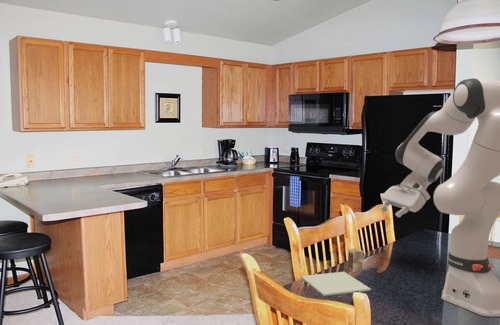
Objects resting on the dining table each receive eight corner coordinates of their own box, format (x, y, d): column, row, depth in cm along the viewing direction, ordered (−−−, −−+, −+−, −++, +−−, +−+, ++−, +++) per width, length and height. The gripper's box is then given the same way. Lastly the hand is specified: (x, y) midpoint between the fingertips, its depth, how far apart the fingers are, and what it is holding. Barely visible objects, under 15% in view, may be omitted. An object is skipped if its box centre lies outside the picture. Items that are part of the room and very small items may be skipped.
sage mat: (370, 290, 150) (370, 288, 150) (323, 296, 144) (323, 294, 144) (343, 273, 167) (344, 271, 167) (300, 277, 161) (300, 276, 161)
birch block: (356, 268, 173) (357, 248, 172) (362, 271, 169) (363, 251, 169) (347, 269, 172) (347, 249, 171) (352, 272, 168) (353, 252, 167)
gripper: (391, 179, 184) (370, 202, 182) (424, 187, 165) (401, 213, 163) (399, 189, 186) (378, 212, 184) (433, 198, 167) (410, 224, 165)
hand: (389, 213), depth 173 cm, fingers open, 8 cm apart
